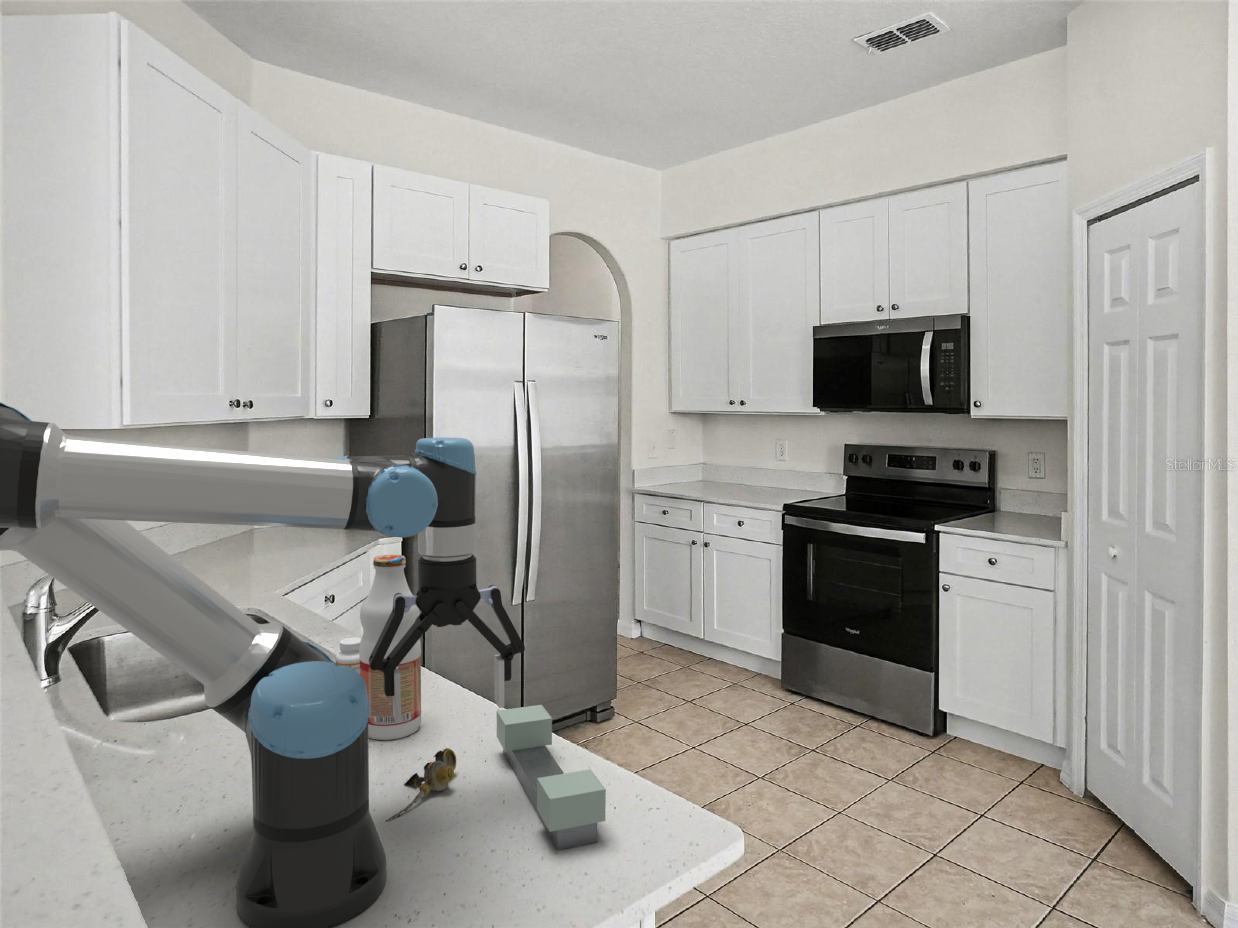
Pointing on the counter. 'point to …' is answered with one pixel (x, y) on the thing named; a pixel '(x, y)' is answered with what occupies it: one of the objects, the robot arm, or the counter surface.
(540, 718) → the mounted modules
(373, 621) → the fruit juice
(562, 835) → the rail
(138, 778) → the counter surface
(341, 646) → the supplement bottle
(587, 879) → the counter surface
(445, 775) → the regulator
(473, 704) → the counter surface
